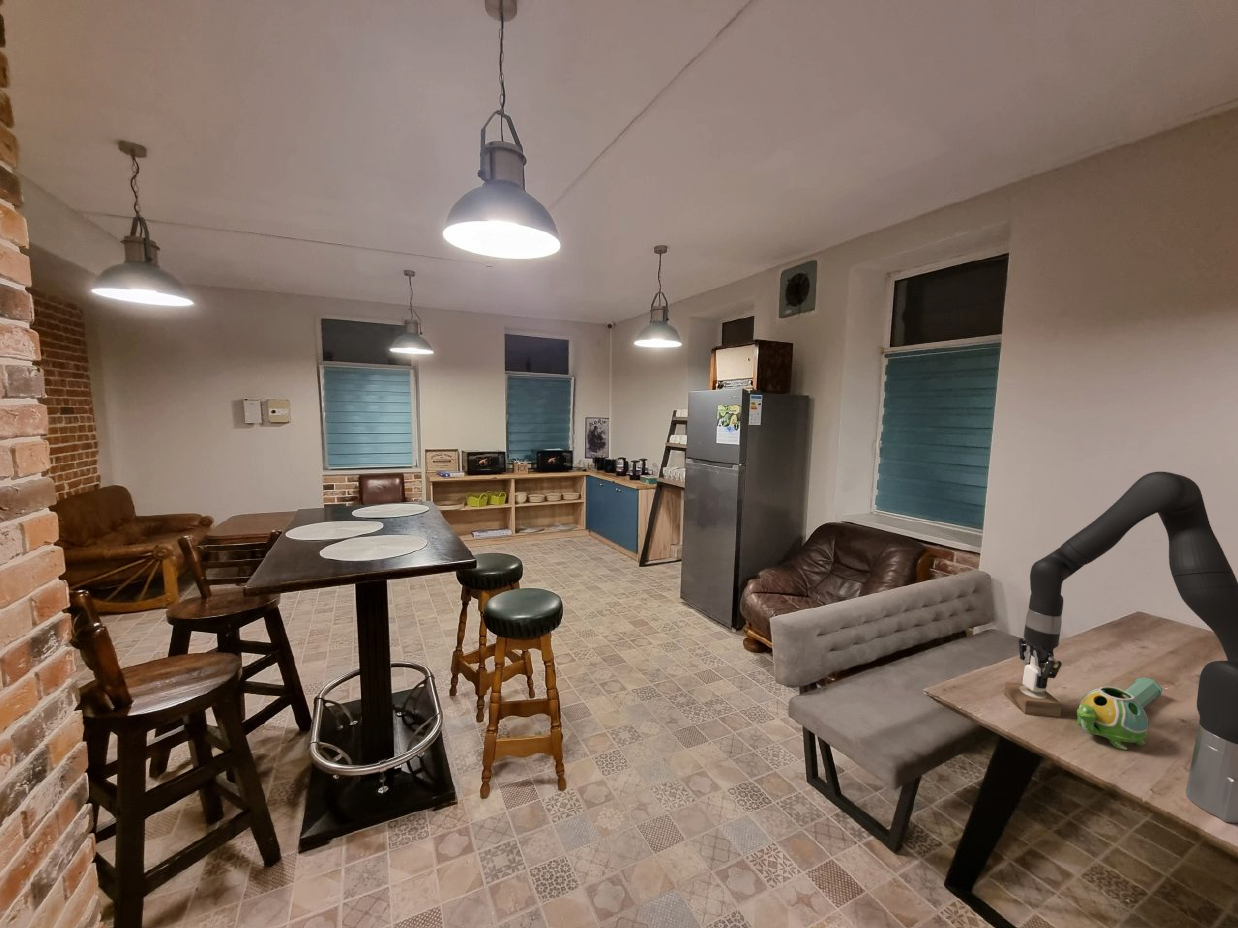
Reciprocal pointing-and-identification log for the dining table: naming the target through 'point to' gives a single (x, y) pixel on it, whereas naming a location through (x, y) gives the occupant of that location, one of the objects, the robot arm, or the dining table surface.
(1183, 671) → the dining table surface
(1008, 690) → the base
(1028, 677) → the salt shaker
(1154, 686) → the container
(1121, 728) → the turtle holder
